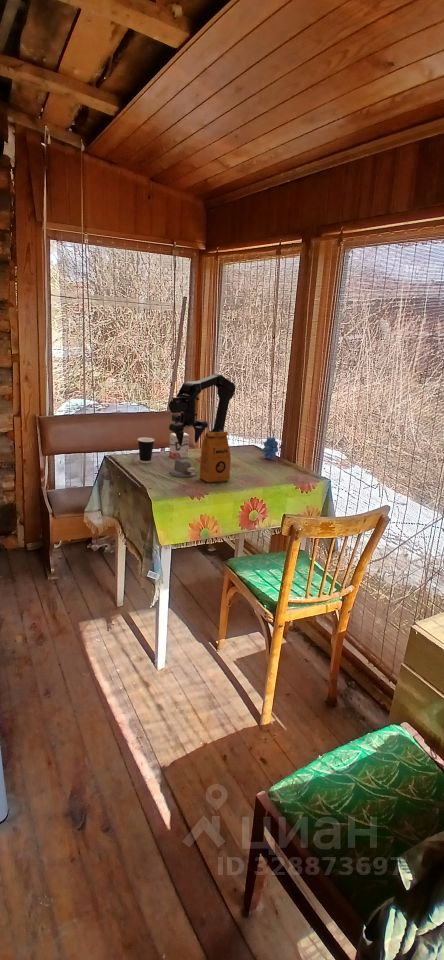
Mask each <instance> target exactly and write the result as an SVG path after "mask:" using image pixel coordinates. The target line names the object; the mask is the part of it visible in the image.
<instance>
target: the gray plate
mask: <svg viewBox="0 0 444 960" xmlns="http://www.w3.org/2000/svg"><path fill="white" fill-rule="evenodd" d="M168 472H169V475H171V476H173V477H176V478H182V479H183V478H193V477H195V476H196V475H197V472H196V470H195V472H191V474H190V475H186V474H182V473H180V472H178V471H175V470H174V468H172V469H169V471H168Z"/></svg>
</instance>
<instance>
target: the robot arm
mask: <svg viewBox="0 0 444 960" xmlns="http://www.w3.org/2000/svg"><path fill="white" fill-rule="evenodd" d="M214 386H215V388H216V390H217V391H216V393H217V396H218V403H217V408H216V413H215V419H214V425H213V428H212V430H209V431H208V432H207V433H209V432H225V431H224V429H225V426H226V425H225V424H226V418H227V414H228V410H229V404H230V401H231V400H232V398H234V395H235V392H236V389H237V388H236V387H237V386H236V385H235V383H234V382H232V381H231V380H229V379H228V378H226V377H224V375H222V374H220V373H219V374H218V373H212V375H209V376H207V377H204V378H201V379H199V380H193V381H192V380H190V381H184V382H183V383H182V384H181V387H180V388H179V391H178V393H177V394H176V396H173V397H172V398H171V400H170V401H169V404H168V409H169V411H170V412H171V413H172V414H171V421H172V422H173V423H170V424H168V427H169V428H168V429H169V431H171V433H172V432H173V433H175V434H176V436H177V439H178V442H179V445H182V441H183V435H184V433H185V432H184V429H188V428H193V430H194V443H196V444H197V443H198V441H199V440H200V438H201V436H202V434H203V432H204V431H205V430H206V428H208V427H209V425H208V424H209V423H208V421H207V420H204V419H196V416H197V417H198V413H197V411H196V409H197V407H196V406H197V401H199V400H200V397H199V396H198V395H200V394H201V393H202V391H204V390H206V389H208V388H211V387H214ZM177 413H180V414H179V415H178V414H177Z"/></svg>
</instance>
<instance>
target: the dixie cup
mask: <svg viewBox="0 0 444 960" xmlns="http://www.w3.org/2000/svg"><path fill="white" fill-rule="evenodd" d="M154 441H155V438H152V437H139V438H137V443H138V444H137V445H138V453H139V454H138V455H139V461H140V463H141V464H149V463H151V461H152V457H153V450H154V444H155V443H154Z"/></svg>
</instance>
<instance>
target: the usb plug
mask: <svg viewBox="0 0 444 960" xmlns="http://www.w3.org/2000/svg"><path fill="white" fill-rule="evenodd" d="M173 469H174V470H175V471H178V472H180V473H182V474H186V475H190V474H191V472H195V471H196V468H195V467H193V462H192V461H189V460H186V459H185V458H174V468H173Z"/></svg>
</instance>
